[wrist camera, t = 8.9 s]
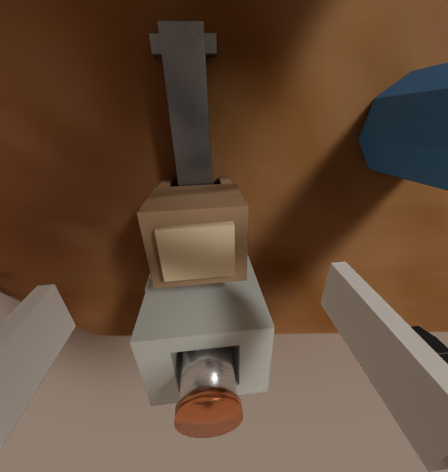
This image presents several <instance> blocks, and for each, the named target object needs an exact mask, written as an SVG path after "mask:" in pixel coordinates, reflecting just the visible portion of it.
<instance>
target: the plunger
mask: <svg viewBox="0 0 448 472" xmlns="http://www.w3.org/2000/svg"><path fill="white" fill-rule="evenodd" d="M242 420H243V412H242V405H241V400H240V398H239V396H238V395H237V391H236V384H235V377H234V369H233V362H232V355H231V348H230V346H228V347H219V348H210V349H201V350H192V351H183V354H182V368H181V382H180V395H179V401H178V403H177V405H176V408H175V421H174V425H175V428H176V430H177V431H178V432H180V433H181V434H183V435H186V436H189V437H194V438H210V437H216V436H220V435H223V434H226V433H228V432H230V431H232V430H234V429H235V428H237V427H238V426H239V425H240V423H241V422H242Z"/></svg>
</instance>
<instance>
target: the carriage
mask: <svg viewBox="0 0 448 472" xmlns="http://www.w3.org/2000/svg"><path fill="white" fill-rule="evenodd" d="M248 212H249V206H248V204H247V202H246V201H245V199H244V197H243V196H242V194H241V192H240V191H239V189H238V187H237V186H236V184H235V183H232V181H231V179H230V177H229V176H222V177H219V184H212V185H193V186H175V187H173V180H172V179H164V180H161V182H160V183H159V185H158V186H157V187H156V188H154V189H153V190H152V192H151V193H150V195H149V196H148V197H147V199H146V200H145V202H144V203H143V204H142V206H141V207H140V209H139V210H138V212H137V216H138V221H139V225H140V230H141V234H142V238H143V243H144V247H145V252H146V256H147V261H148V265H149V269H150V274H151V278H152V283H153V287H154V288H166V287H177V286H188V285H200V284H211V283H222V282H234V281H245V280H247V255H248Z"/></svg>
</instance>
